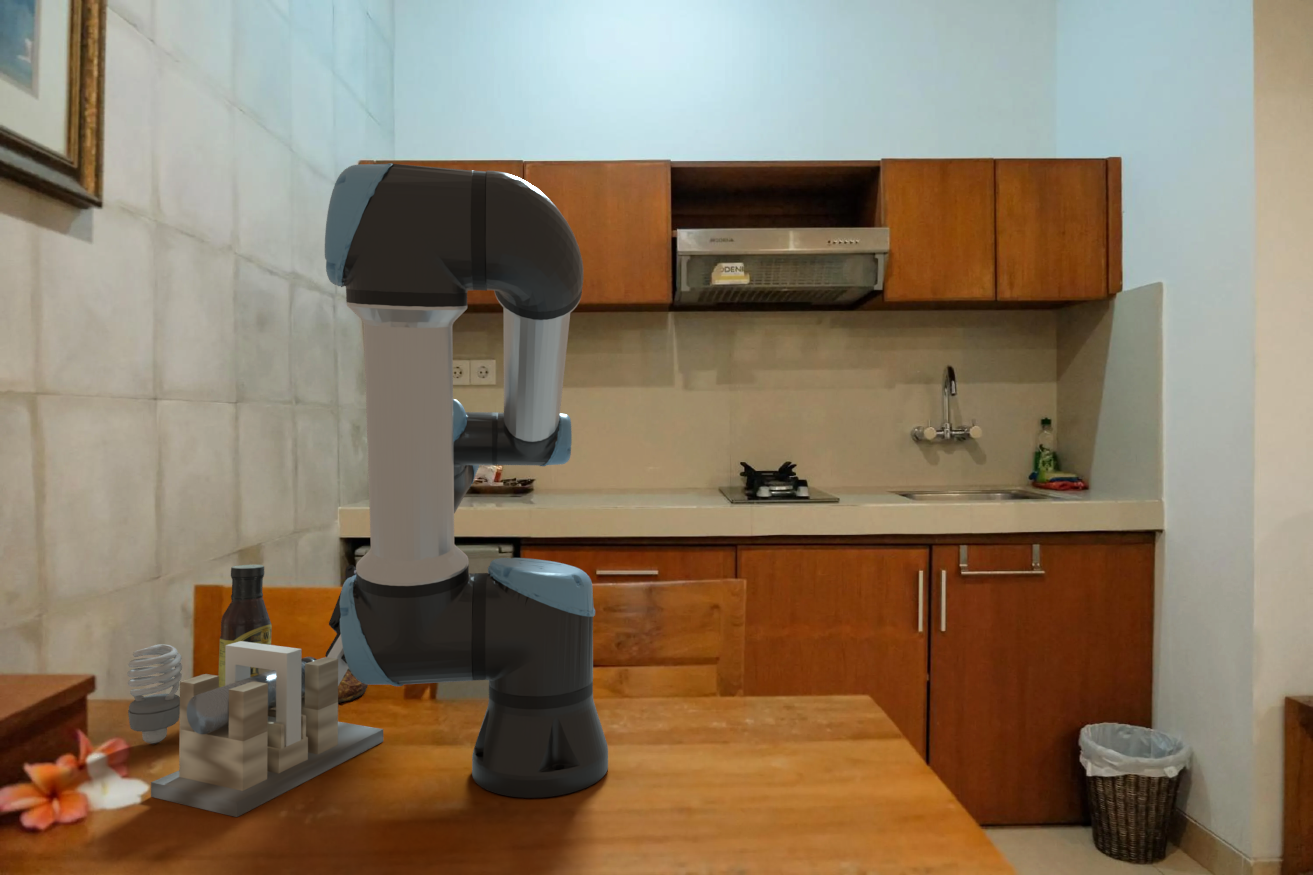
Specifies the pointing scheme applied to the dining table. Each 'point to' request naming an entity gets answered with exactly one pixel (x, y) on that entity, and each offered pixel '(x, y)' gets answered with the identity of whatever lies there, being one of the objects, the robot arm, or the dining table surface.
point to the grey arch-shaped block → (287, 679)
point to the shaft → (214, 705)
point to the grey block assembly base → (260, 745)
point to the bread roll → (350, 688)
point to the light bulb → (159, 708)
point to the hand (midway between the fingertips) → (324, 684)
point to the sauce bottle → (244, 614)
